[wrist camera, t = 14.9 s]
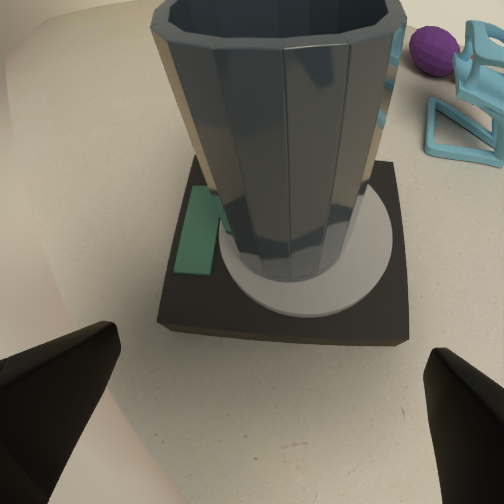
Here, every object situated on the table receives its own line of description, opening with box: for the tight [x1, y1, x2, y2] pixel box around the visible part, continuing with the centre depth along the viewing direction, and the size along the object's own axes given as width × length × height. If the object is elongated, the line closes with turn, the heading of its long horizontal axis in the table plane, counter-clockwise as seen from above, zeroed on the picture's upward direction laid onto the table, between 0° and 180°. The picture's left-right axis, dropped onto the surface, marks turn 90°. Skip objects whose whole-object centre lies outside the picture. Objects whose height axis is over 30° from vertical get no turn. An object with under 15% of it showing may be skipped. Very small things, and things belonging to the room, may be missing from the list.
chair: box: [424, 20, 504, 168], centre depth 18 cm, size 8×8×12 cm
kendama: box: [409, 26, 473, 76], centre depth 24 cm, size 6×6×20 cm
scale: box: [157, 155, 409, 346], centre depth 20 cm, size 14×12×3 cm
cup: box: [150, 0, 407, 283], centre depth 12 cm, size 7×7×13 cm
